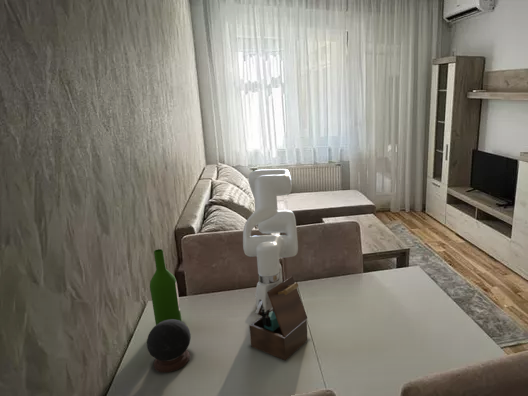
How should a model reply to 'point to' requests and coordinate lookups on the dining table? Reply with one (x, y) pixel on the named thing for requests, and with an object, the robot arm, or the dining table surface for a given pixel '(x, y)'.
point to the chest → (277, 339)
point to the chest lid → (287, 305)
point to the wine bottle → (164, 291)
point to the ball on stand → (169, 345)
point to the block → (272, 322)
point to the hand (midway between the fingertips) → (272, 321)
